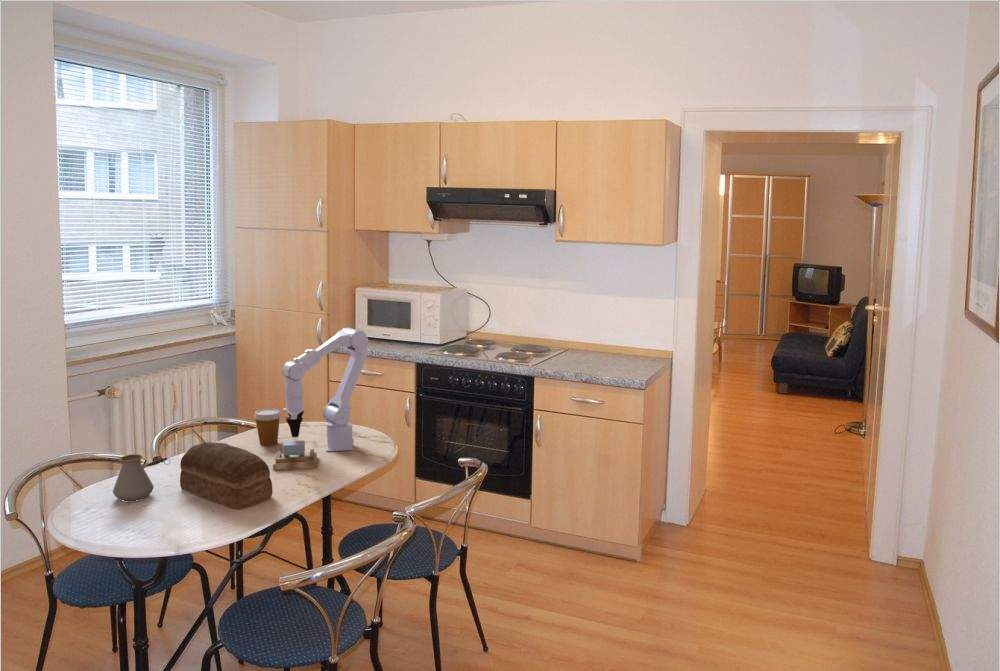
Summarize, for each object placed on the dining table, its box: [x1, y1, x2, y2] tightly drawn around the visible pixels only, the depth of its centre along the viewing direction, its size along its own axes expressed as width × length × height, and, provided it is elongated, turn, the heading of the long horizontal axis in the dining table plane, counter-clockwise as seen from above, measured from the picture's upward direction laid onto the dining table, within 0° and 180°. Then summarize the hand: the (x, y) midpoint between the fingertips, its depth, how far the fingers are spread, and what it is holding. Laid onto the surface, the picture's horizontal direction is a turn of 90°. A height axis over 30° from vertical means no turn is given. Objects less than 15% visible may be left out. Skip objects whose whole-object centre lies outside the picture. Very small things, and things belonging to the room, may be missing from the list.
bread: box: [179, 441, 273, 510], centre depth 264 cm, size 15×32×16 cm, turn 54°
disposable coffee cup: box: [253, 408, 282, 447], centre depth 315 cm, size 10×10×12 cm
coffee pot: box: [112, 453, 171, 502], centre depth 259 cm, size 21×12×15 cm, turn 64°
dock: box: [272, 448, 318, 471], centre depth 293 cm, size 14×11×4 cm
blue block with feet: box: [282, 440, 306, 458], centre depth 293 cm, size 7×5×5 cm, turn 100°
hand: (295, 433), depth 299 cm, fingers open, 7 cm apart
